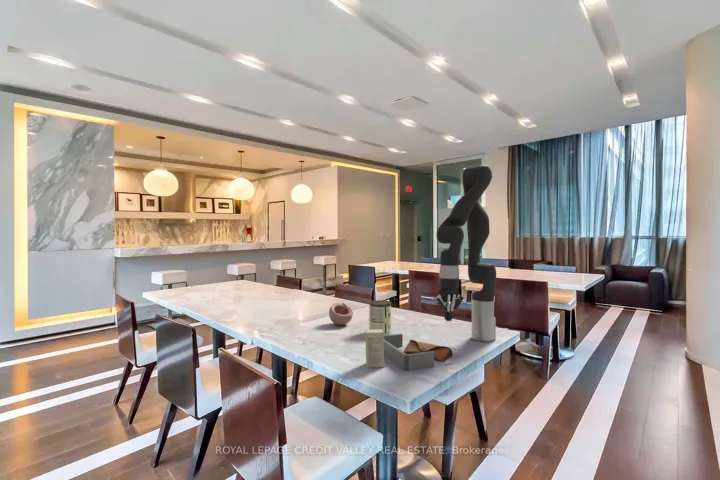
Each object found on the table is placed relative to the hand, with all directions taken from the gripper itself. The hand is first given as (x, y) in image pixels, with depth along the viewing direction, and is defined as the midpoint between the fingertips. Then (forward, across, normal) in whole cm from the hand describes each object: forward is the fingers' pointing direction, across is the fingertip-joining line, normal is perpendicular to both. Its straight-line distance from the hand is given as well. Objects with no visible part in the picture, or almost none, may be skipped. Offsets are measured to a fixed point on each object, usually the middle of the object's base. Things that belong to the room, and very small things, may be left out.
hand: (448, 320), depth 139 cm
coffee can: (+12, +14, -33) cm, 38 cm away
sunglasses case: (+13, +10, 0) cm, 16 cm away
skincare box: (+13, +33, +4) cm, 36 cm away
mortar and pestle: (+12, +27, -52) cm, 60 cm away
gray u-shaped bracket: (+12, +19, 0) cm, 23 cm away
